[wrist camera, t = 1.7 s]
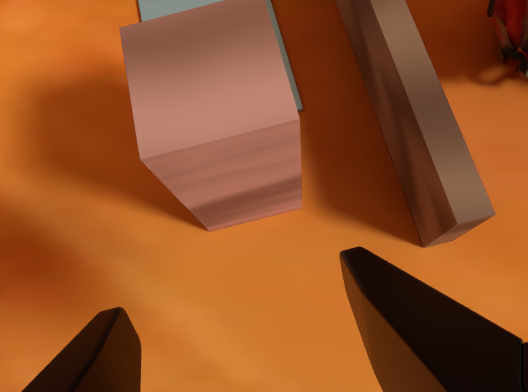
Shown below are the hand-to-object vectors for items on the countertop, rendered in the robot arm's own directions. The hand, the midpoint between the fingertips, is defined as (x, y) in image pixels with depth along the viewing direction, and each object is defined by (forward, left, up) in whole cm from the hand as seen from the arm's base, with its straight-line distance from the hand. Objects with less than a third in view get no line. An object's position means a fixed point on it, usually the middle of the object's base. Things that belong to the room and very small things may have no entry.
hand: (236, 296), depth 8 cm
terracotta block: (+8, 0, -14) cm, 16 cm away
